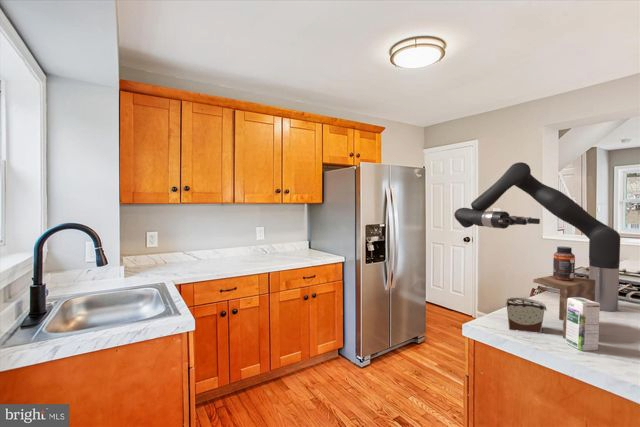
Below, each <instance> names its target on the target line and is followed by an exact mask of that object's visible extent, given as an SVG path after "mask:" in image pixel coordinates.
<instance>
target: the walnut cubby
mask: <svg viewBox="0 0 640 427" xmlns="http://www.w3.org/2000/svg"><path fill="white" fill-rule="evenodd" d="M532 282H533V283H534V284H539V285H543V286H547V287H551V288H557V289H559V304H558V306H559V310H558V312H559V313H558V319H559V320H560V321H563V322H562V324H563V326H562V339H565V340H566V322H567V298H573V297H579V298H585V299H587V300H590V301H593V302H595V284H596V280H593V279H589V277H588V278H587V277H581V276H576V275H575V276H574V280H573V281H563V280H558V279H555V278H554V277H553V274H552V275H548V276H543V277H537V278H533V280H532Z"/></svg>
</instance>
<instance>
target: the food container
mask: <svg viewBox="0 0 640 427" xmlns="http://www.w3.org/2000/svg"><path fill="white" fill-rule="evenodd" d="M504 307H505V308H506V310H507V321H508V322H507V323H508V330H510V331H516V330H518V332H524V331H526V333H533V332H537V333H536V334H542V329H543V322H544V315H545V311H548V310H547V306H546V304H545V303H543V302H542V301H539V300H536V299H530V298H526V297H525V298H524V297H510V298H507V299H506V301H505V303H504Z"/></svg>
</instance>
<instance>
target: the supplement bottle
mask: <svg viewBox="0 0 640 427" xmlns="http://www.w3.org/2000/svg"><path fill="white" fill-rule="evenodd" d="M556 250H557V251H556V252H554V253H553V264H552V266H553V267H552V271H553V272H552V275H553V277H554V278H555V279H558V280H563V281H573V280H574V276H576V274H575V272H576V271H575V270H576V269H575V267H576V263H575V262H576V256H575V254H574V253H573V250H572V247H571V246H557V248H556Z"/></svg>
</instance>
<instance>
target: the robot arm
mask: <svg viewBox="0 0 640 427" xmlns="http://www.w3.org/2000/svg"><path fill="white" fill-rule="evenodd" d="M514 186H515V187H517V188H518V189H520V191H521V190H522V191H523V192H525V193H526V194H527V195H529V196H530V197H532V199H534V200H535V202H537V203H539V204H540V205H541V206H542V207H543V208H544V209H546V210H547V211H548V212H549V213H551V215H554V216H555V217H556V218H558V219H560V220H561V221H563V222H565V223H566V224H568V225H571V226H572V227H574V228H576V229H577V230H579V231H580V232H581V233H582V234H583V235H584V236H586V237H587V238H588V239H589V241H588V243H589V244H588V245H589V246H588V248H589V249H588V261H589V262H588V263H589V264H588V279H593V280H596V284H595V302H596V303H600V311H606V312H617V311H618V310H619V288H620V287H619V285H620V262H621V260H620V259H621V258H620V256H621V255H620V254H621V253H620V252H621V235H620V233H619V232H618V231H617V230H615V229H614V228H612V227H610V226H608V225H607V224H605V223H603V222H602V221H600V220H598V219H596V218H595V217H594V216H592V215H591V214H590V213H588V211H586V209H584V208H583V207H582V206H580V204H578V203H577V202H576V201H575V200H573V199H572V198H570V197H569V196H568V195H567V194H565V193H563V192H562V191H561V190H558V189H557V188H554V187H551V186H548V185H546V184H544V183H542V182H541V181H539V180H538V179H537V178H536V177H535V176H533V175H532V174H531V166H530V165H529V164H527V163H525V162H521V161H519V162H516V163H513V164H511V166H510V167H509V168H508V169H507V170H506V171H505V172H504V173H503V175H502V176H500V178H499V179H497V181H496V182H494V184H492V185H491V186H490V187H489V188H488V189H486V190H485V191H484V192H483V193H482V194H480V195H479V196H477V197H476V199H474V200H473V201H471V203H470V206H471V208H469V207H460V208H458V209H456V210H455V212H454V218H455V220H456V221H457V222H458V223H459V224H460V226H461V227H463V228H466V229H467V228H470V227H473V226H478V227H487V228H492V229H503V230H504V229H507V228H508V227H509V226H516V225H522V226H526V225H530V224H533V225H539V224H541V219H540V218H537V217H536V218H533V217H530V216H529V217H525V216H517V215H510V214H509V212H507V211H499V210H495V211H494V210H490V211H489V210H488V209H490V207H492V206H493V205H494V204H495V203H497V201H498V200H499V199H501V197H502V196H503V195H504V194H505V193H506V192H507V191H508V190H509V189H511V188H512V187H514Z"/></svg>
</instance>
